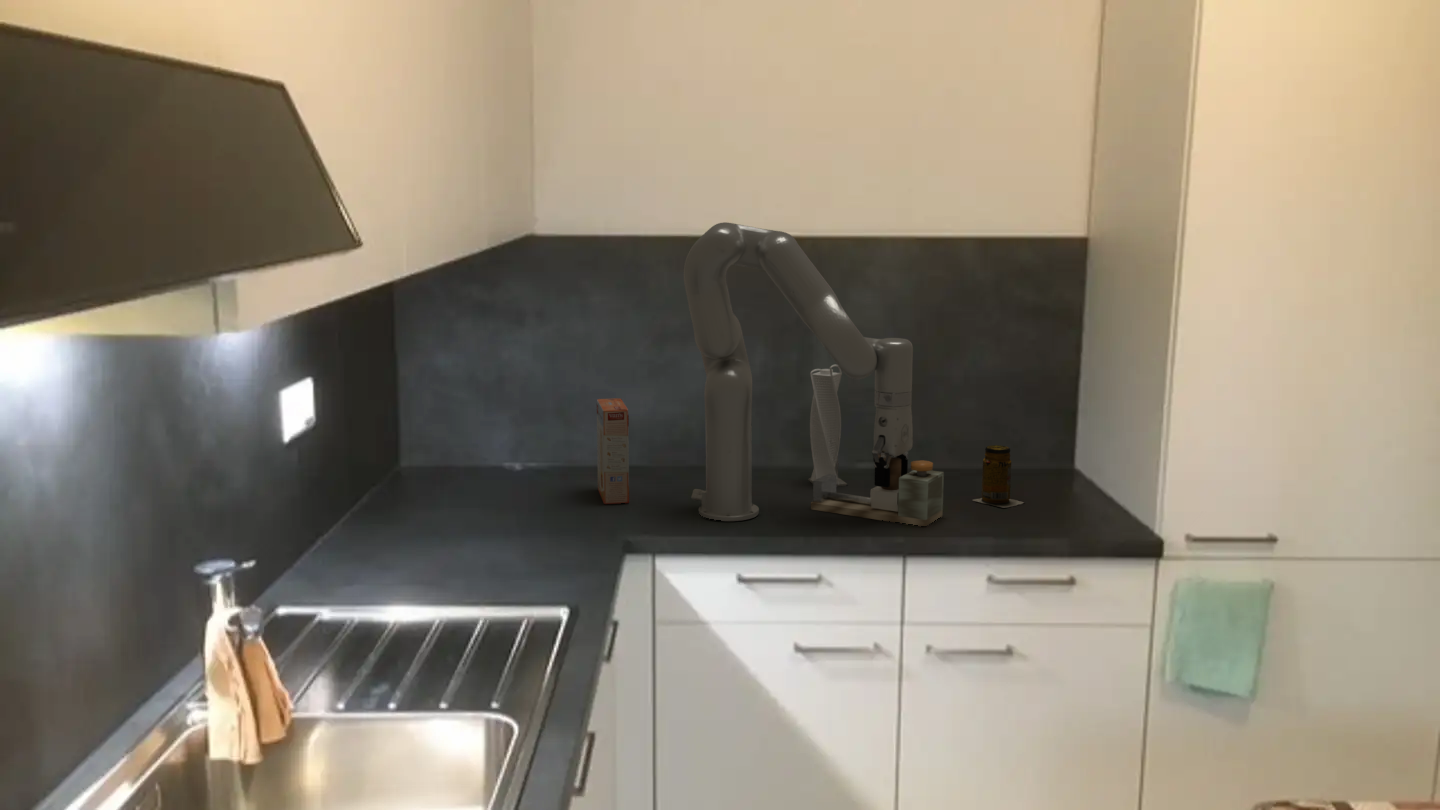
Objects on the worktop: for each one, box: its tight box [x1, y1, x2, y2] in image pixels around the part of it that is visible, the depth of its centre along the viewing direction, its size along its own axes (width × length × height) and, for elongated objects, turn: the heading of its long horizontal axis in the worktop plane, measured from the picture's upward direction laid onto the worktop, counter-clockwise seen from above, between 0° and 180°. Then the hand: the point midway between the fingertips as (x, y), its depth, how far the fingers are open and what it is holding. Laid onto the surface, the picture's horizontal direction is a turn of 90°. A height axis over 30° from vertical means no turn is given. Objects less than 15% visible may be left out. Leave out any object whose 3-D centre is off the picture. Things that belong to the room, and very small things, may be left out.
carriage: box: [870, 456, 901, 512], centre depth 264 cm, size 6×7×10 cm
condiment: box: [972, 444, 1025, 508], centre depth 274 cm, size 7×8×12 cm
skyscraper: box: [807, 363, 848, 487], centre depth 288 cm, size 8×8×28 cm
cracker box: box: [596, 397, 630, 505], centre depth 279 cm, size 14×6×21 cm, turn 11°
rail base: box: [810, 470, 945, 527], centre depth 266 cm, size 26×9×10 cm, turn 58°
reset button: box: [910, 459, 934, 477], centre depth 260 cm, size 4×4×3 cm
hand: (891, 481), depth 264 cm, fingers open, 8 cm apart
